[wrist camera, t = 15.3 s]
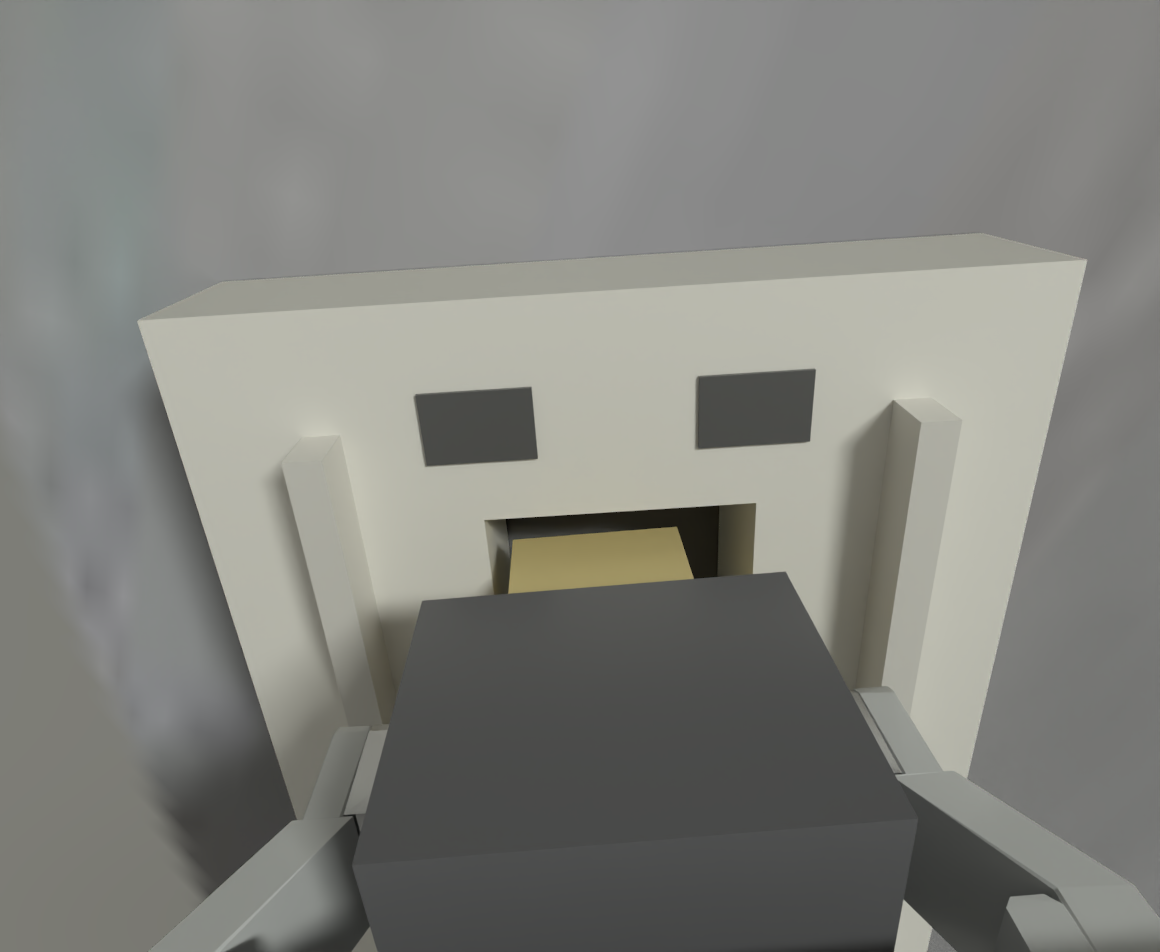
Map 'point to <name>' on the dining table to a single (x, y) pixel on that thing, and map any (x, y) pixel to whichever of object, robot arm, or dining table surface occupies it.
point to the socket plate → (622, 450)
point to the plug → (629, 769)
